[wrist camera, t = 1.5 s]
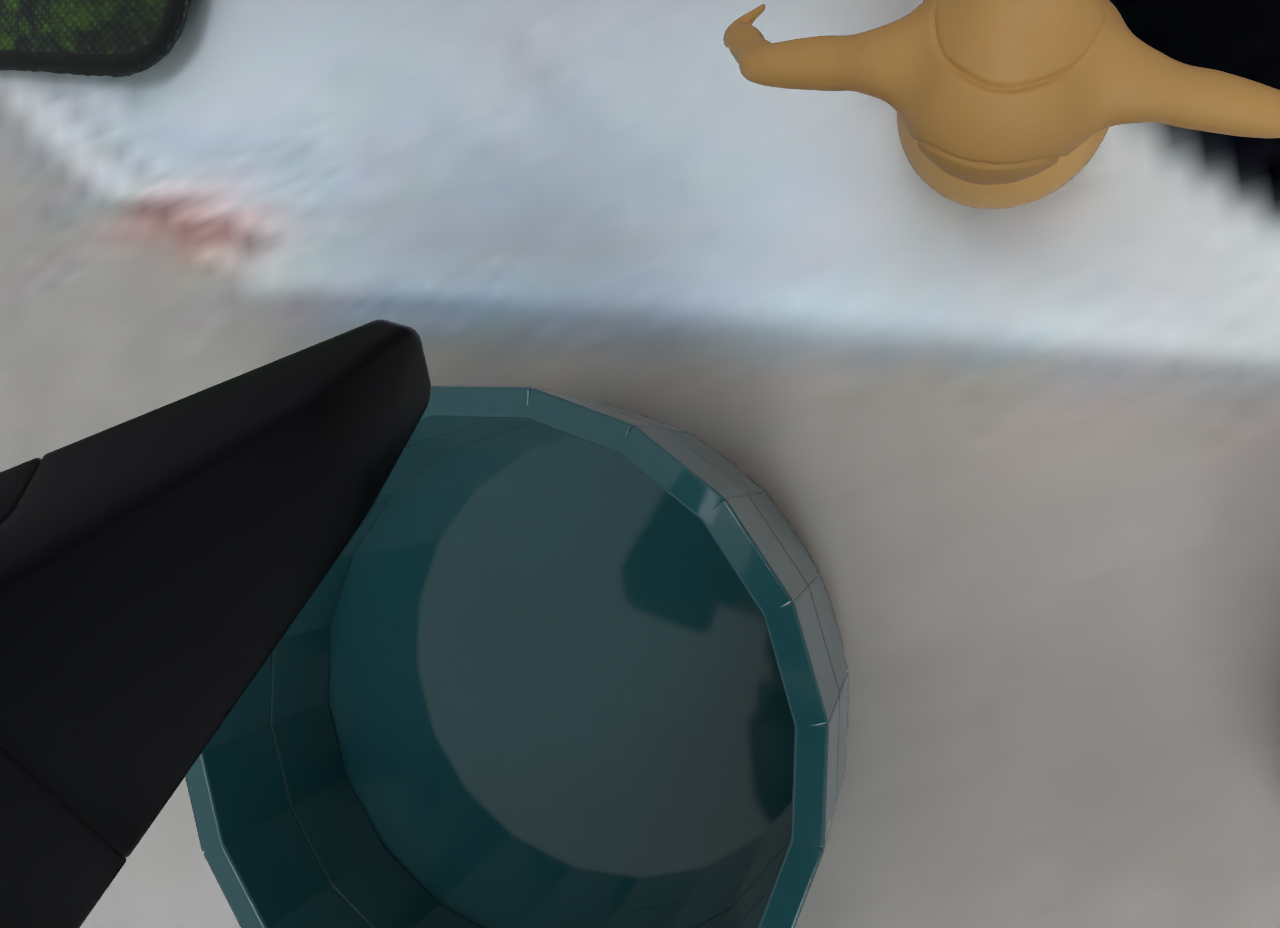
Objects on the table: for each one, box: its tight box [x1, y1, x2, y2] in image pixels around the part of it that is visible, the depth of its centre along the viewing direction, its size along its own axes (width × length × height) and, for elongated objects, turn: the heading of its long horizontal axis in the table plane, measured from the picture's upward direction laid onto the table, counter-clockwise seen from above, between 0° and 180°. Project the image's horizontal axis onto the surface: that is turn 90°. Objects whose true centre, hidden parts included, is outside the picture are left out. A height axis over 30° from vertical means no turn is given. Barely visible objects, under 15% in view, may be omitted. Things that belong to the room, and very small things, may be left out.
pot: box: [185, 386, 848, 928], centre depth 21 cm, size 14×14×5 cm
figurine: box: [724, 0, 1280, 209], centre depth 14 cm, size 8×6×12 cm
